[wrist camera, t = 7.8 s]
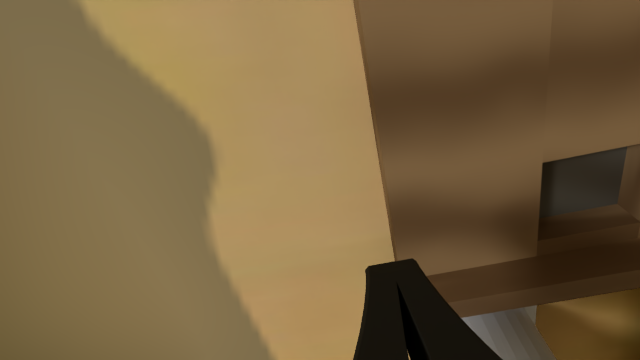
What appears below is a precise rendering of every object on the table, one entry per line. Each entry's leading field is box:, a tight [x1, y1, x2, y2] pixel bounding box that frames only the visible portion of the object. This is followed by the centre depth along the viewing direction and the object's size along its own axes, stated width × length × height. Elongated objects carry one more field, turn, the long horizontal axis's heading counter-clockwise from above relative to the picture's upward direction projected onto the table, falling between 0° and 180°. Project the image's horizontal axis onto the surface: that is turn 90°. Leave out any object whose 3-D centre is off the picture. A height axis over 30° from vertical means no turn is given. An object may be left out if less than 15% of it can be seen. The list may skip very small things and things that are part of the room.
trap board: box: [354, 0, 640, 318], centre depth 16 cm, size 20×20×4 cm
